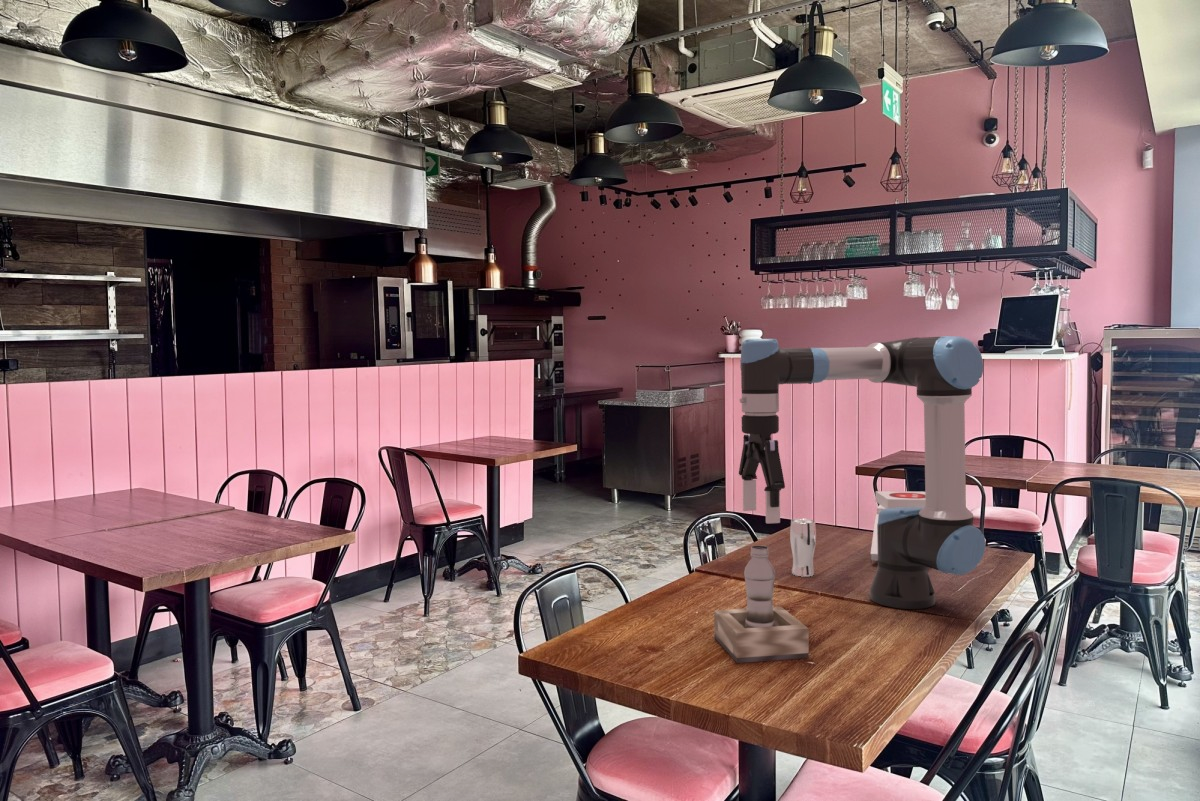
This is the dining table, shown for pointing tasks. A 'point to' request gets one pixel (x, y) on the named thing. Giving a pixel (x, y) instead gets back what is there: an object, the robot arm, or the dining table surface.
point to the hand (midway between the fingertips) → (760, 516)
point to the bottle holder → (761, 636)
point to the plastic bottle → (759, 589)
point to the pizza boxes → (894, 501)
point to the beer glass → (803, 546)
